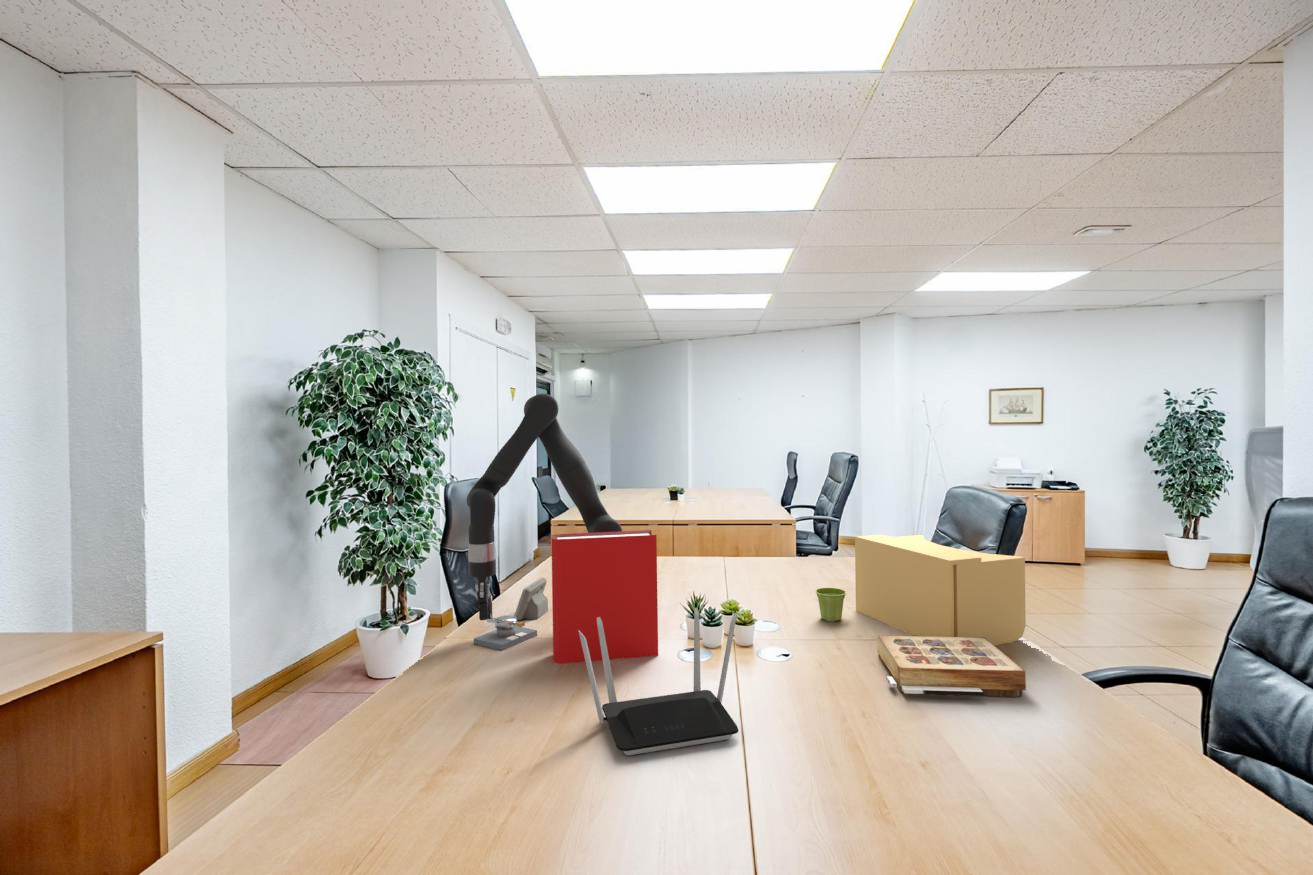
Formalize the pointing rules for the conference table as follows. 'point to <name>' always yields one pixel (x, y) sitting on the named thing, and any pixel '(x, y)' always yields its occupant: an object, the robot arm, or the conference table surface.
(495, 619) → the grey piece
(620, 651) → the book
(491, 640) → the stand
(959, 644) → the flat wooden box
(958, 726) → the conference table surface
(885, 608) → the cardboard box
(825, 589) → the plant pot
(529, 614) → the digital clock
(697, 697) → the wireless router
